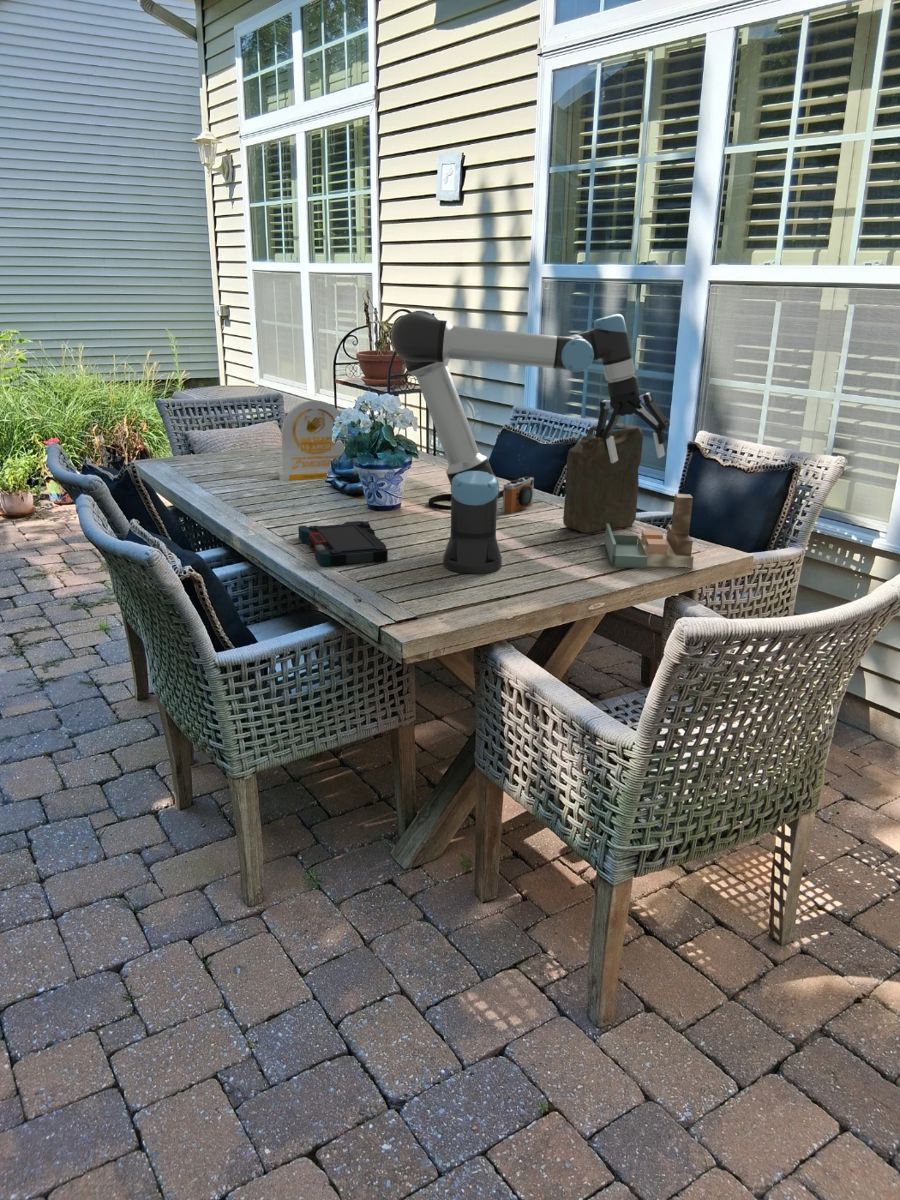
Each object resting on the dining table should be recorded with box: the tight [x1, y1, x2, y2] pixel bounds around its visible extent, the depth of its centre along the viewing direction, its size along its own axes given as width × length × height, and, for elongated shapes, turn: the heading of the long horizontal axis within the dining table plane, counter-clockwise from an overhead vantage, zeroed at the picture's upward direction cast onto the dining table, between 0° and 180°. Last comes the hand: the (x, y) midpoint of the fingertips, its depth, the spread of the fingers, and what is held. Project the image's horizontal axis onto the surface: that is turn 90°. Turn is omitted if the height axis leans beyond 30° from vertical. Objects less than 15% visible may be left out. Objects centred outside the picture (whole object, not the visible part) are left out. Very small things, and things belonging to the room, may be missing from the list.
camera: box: [427, 475, 535, 515], centre depth 291 cm, size 30×30×10 cm
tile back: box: [640, 529, 664, 544], centre depth 243 cm, size 5×5×2 cm
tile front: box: [645, 539, 668, 554], centre depth 234 cm, size 5×5×2 cm
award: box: [276, 399, 344, 481], centre depth 324 cm, size 28×9×28 cm, turn 108°
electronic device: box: [297, 520, 389, 567], centre depth 242 cm, size 20×31×5 cm, turn 21°
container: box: [562, 422, 644, 534], centre depth 263 cm, size 22×10×30 cm, turn 122°
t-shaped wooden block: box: [665, 493, 694, 556], centre depth 236 cm, size 4×16×14 cm, turn 175°
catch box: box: [604, 524, 648, 569], centre depth 239 cm, size 9×21×6 cm, turn 175°
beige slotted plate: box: [638, 536, 695, 569], centre depth 239 cm, size 12×18×3 cm, turn 175°
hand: (637, 459), depth 231 cm, fingers open, 13 cm apart
